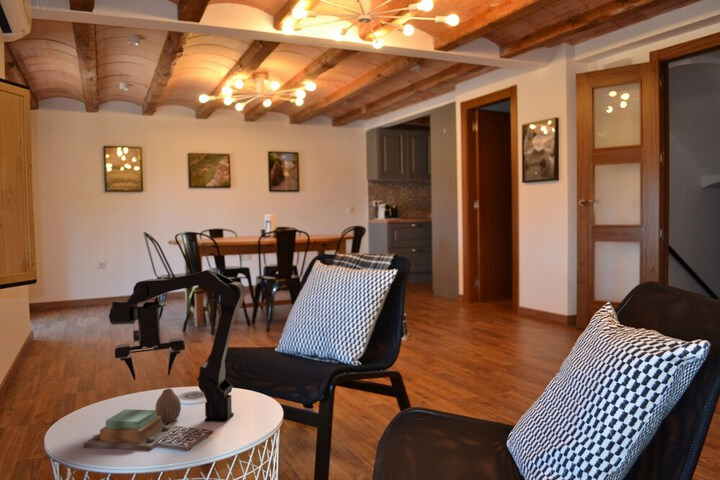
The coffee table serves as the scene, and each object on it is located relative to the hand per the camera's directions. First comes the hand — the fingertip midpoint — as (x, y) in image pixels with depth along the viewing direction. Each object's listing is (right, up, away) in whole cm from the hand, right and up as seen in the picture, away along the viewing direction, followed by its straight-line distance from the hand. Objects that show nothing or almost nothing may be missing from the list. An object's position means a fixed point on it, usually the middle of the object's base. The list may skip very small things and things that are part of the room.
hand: (151, 377), depth 161 cm
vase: (+5, -12, -2) cm, 13 cm away
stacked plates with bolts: (+1, -12, -15) cm, 19 cm away
